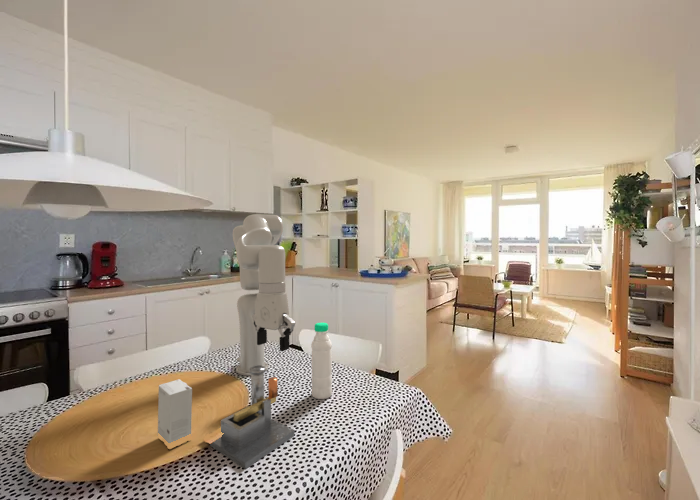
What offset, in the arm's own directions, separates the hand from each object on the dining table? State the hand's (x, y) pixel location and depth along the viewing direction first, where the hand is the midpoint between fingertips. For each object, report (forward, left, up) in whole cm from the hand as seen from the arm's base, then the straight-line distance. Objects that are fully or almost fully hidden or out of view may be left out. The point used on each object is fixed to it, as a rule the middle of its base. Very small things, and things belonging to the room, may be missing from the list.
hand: (273, 346), depth 94 cm
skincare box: (-16, -20, -23) cm, 35 cm away
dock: (0, -9, -23) cm, 25 cm away
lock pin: (0, -6, -16) cm, 17 cm away
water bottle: (0, +22, -23) cm, 31 cm away
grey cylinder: (-13, +5, -23) cm, 27 cm away
